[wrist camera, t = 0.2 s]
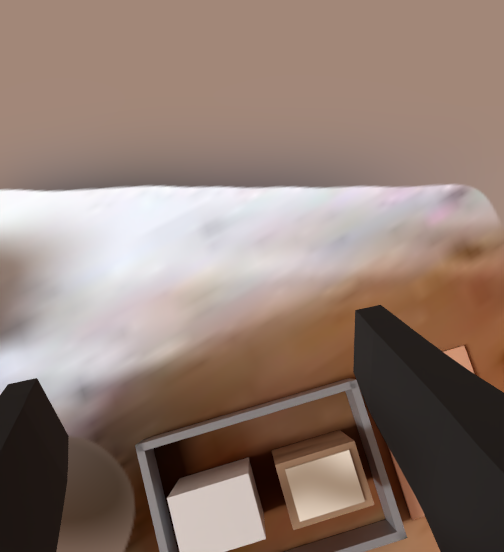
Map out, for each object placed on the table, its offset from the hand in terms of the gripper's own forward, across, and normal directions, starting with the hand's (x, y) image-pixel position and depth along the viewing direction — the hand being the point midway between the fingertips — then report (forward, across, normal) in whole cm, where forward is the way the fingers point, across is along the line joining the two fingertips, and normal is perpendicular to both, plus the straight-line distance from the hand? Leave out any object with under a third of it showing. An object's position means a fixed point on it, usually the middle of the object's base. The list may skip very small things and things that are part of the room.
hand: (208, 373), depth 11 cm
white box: (+14, +2, +29) cm, 33 cm away
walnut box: (+14, -6, +29) cm, 33 cm away
